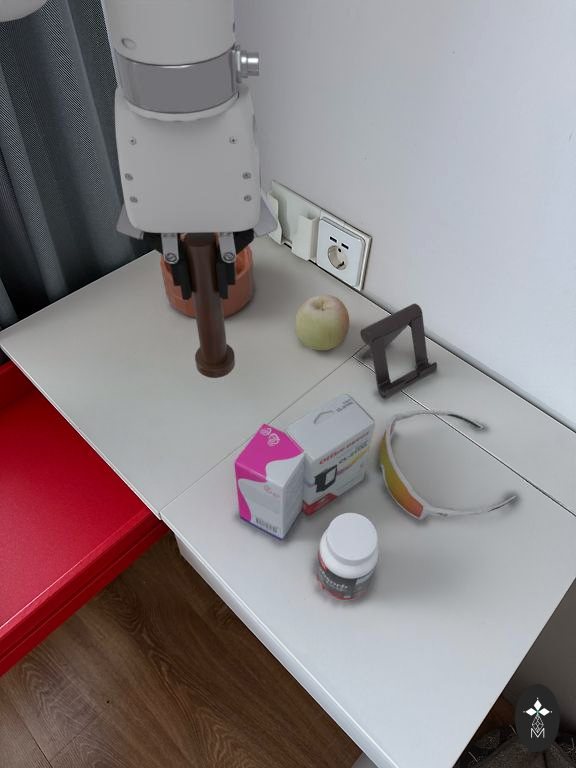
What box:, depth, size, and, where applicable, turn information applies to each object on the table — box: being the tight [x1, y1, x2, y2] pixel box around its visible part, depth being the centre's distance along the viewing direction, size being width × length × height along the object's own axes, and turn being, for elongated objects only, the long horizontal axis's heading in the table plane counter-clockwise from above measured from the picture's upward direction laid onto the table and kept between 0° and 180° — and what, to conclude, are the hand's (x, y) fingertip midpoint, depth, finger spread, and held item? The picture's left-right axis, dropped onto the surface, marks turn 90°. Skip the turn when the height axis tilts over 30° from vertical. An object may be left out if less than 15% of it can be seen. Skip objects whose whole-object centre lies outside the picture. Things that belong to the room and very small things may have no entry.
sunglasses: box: [379, 409, 516, 521], centre depth 67 cm, size 14×15×5 cm
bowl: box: [159, 232, 255, 319], centre depth 85 cm, size 13×13×6 cm
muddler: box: [184, 232, 236, 379], centre depth 53 cm, size 4×4×16 cm
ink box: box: [284, 393, 376, 517], centre depth 63 cm, size 9×5×12 cm, turn 126°
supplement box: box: [233, 423, 306, 542], centre depth 60 cm, size 6×6×12 cm
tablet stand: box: [359, 302, 438, 400], centre depth 75 cm, size 9×8×8 cm
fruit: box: [294, 294, 350, 351], centre depth 79 cm, size 8×7×8 cm
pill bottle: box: [315, 512, 380, 602], centre depth 56 cm, size 6×6×10 cm
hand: (206, 287), depth 51 cm, fingers closed on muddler, 2 cm apart
